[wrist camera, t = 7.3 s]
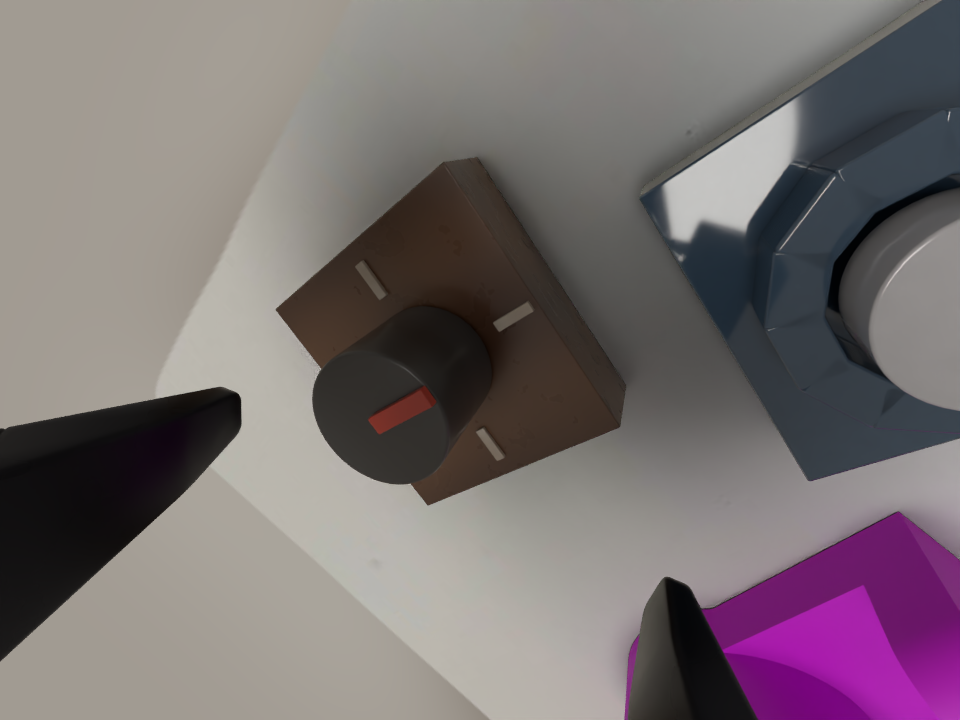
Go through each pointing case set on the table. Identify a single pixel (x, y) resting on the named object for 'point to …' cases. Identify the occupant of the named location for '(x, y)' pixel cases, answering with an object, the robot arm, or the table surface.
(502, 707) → the table surface
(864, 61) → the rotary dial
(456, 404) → the lock knob
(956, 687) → the magenta ring bracket
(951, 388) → the push button
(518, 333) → the panel
